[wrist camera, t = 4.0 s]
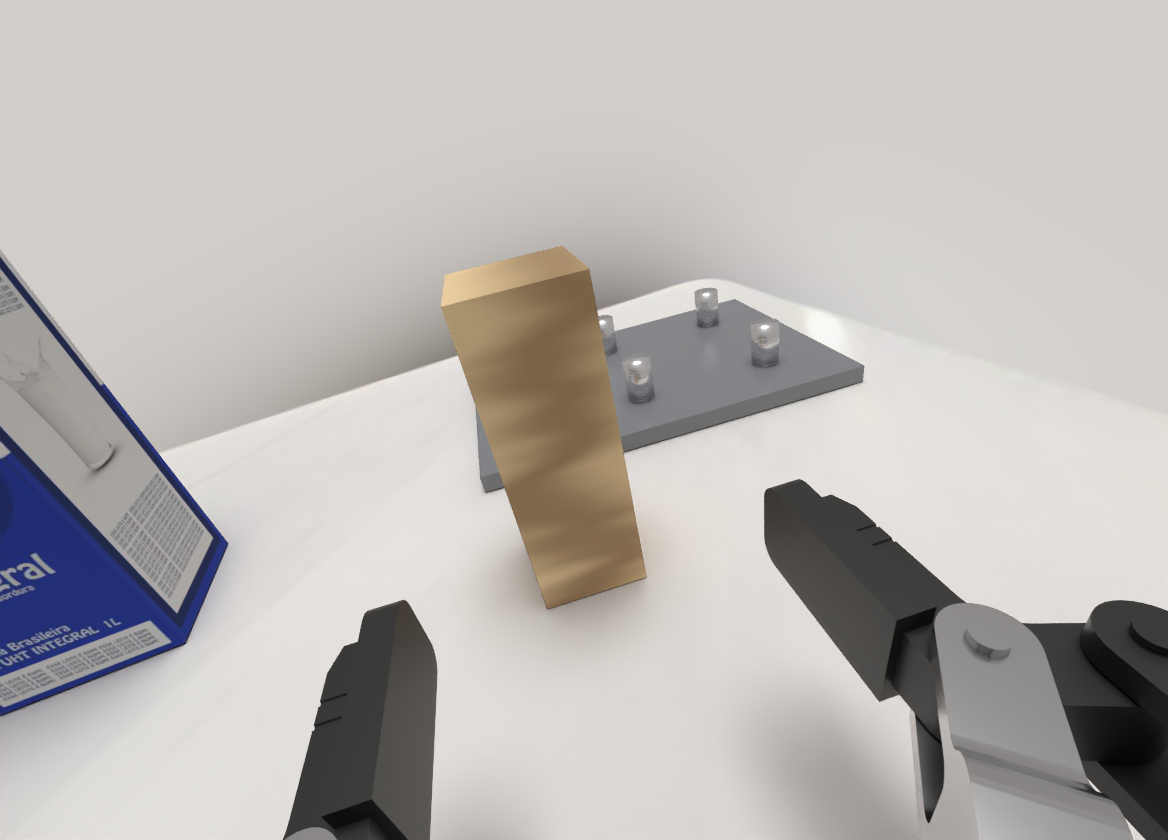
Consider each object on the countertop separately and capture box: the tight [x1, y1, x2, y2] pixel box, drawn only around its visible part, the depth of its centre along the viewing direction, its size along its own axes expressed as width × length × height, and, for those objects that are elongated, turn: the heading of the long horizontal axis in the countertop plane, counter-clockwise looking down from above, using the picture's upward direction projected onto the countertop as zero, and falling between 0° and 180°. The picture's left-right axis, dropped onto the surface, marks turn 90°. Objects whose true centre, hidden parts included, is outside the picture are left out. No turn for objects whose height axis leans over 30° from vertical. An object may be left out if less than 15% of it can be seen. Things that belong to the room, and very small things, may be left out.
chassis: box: [476, 288, 864, 492], centre depth 32 cm, size 22×15×4 cm
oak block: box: [441, 246, 646, 609], centre depth 17 cm, size 4×4×12 cm
